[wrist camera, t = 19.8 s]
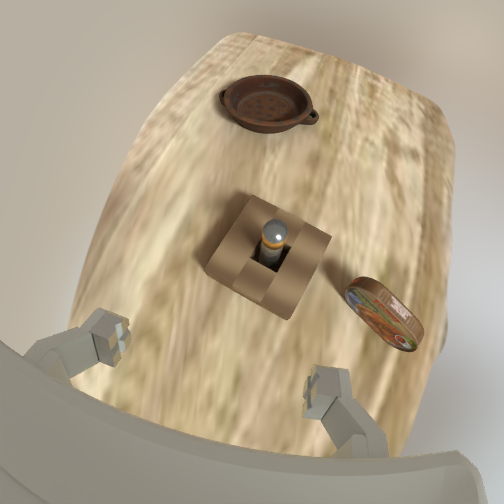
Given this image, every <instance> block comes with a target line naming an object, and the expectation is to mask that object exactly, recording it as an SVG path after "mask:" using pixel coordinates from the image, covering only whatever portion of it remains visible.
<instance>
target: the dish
mask: <svg viewBox="0 0 504 504" xmlns="http://www.w3.org/2000/svg"><path fill="white" fill-rule="evenodd" d="M223 97H224V98H223ZM219 98H220V102H221V103H222V104H223V105H225V106H226V108H227V110H228V111H229V112H230V114H232V115H233V117H234V118H235V119H236V121H237V122H238V123H239V124H241V125H242V126H244V127H245V128H247V129H249V130H252V131H255V132H259V133H266V134H272V133H279V132H283V131H286V130H288V129H290V128H292V127H294V126H296V125H298V124H306V125H313V124H315V123H316V122H317V121H318V118H319V115H318V113H317V112H316V111H315V110H314V109H313V105H312V101H311V98H310V96H309V94H308V93H307V92H306V90H304V89H303V88H302V87H301V86H300V85H298V84H297V83H295V82H293V81H291V80H288V79H286V78H282V77H278V76H272V75H255V76H248V77H245V78H242V79H240V80H238V81H236V82H235V83H233V84H232V85H231V86H229V87H228V88H227V89H226V90H223V91H221V92H220V94H219ZM308 115H310V116H311V117H312V118H308V117H307V116H308Z"/></svg>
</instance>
